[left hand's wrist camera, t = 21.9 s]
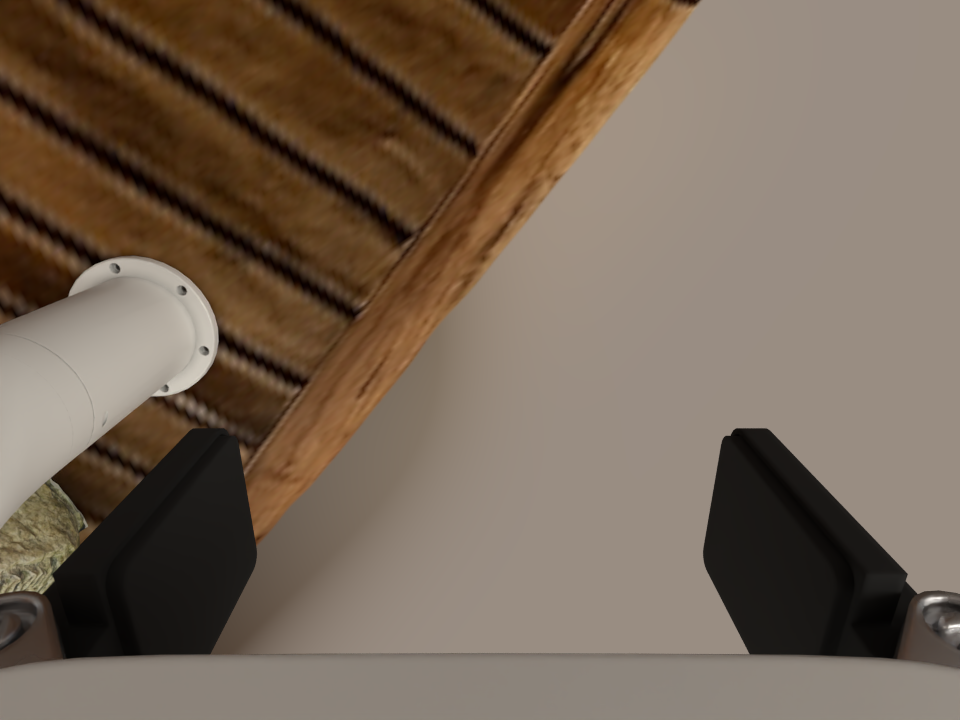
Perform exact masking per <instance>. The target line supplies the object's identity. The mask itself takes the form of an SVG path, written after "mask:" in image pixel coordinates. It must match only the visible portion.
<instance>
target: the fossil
mask: <svg viewBox="0 0 960 720" xmlns="http://www.w3.org/2000/svg"><path fill="white" fill-rule="evenodd" d="M86 527H88V525H87V523H86V521H85V519H84V517H83V515H82V513H81V512H80V511H79V510H78V509H77V508H76V507H75V505H74V504H73V503H72V501H71V500H70V498H69V497H68V496H67V495H66V494H65V493H64V492H63V490H62V489H61V488H60V487H59V485H58V484H57V483H55V482H54V481H52V479H51V478H50V479H49V480H48V481H47V482H45V483H44V484H43V485H42V486H41V487H40V488H39V489H38V490H36V491H35V492H34V493H33V494H32V495H31V496H30V497H29V498H28V499H27V500H26V501H25V502H24V503H23V504H22V505H21V506H20V507H19V508H18V509H17V510H16V511H15V512H14V513H13V515H12V516H11V517H10V518H9V519H8V520H7V522H6V523H5V524H4V525H3V526H2V528H1V529H0V594H2V593H8V592H15V591H35V592H38V593H40V594H43V593H44V592H45V591H46V590H47V589H48V588H49V587H50V585H51V584H52V583H53V582H54V578H53V575H52V574H53V573H54V572H55V571H56V570H57V569H58V568H59V567H60V566H61V564H62V563H63V562H64V561H65V560H66V559H67V558H68V557H69V556H70V555H71V554H72V553H73V552H74V551H75V550H76V549H77V548H78V547H79V532H80V531H82V530H83V529H85V528H86Z"/></svg>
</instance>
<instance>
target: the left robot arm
mask: <svg viewBox="0 0 960 720" xmlns="http://www.w3.org/2000/svg"><path fill="white" fill-rule="evenodd" d="M118 265H119V266H118ZM119 267H120V268H119ZM184 287H185V288H186V290H185V289H184ZM218 342H219V339H218V327H217V323H216V319H215V315H214V313H213V311H212V309H211V306H210V304H209V302H208V301H207V299H206V298H205V296H204V295H203V294H202V292H201V291H200V289H199V288H198V287H197V286H196V285H195V284H194V283H193V282H192V281H191V280H190V279H189V278H187V277H186V276H185V275H183V274H182V273H181V272H179V271H178V270H176V269H174V268H173V267H171V266H169V265H167V264H165V263H163V262H160V261H157V260H154V259H151V258H146V257H139V256H120V257H116V258H112V259H107V260H105V261H102V262H100V263H97V264H95V265H93V266H92V267H90V268H89V269H87V270H86V271H84V272H83V273H82V274H81V275H80V276H79V278H78V279H77V280H76V281H75V283H74V285H73V286H72V288H71V290H70V292H69V296H68V297H67V298H65V299H62V300H60V301H57V302H55V303H52V304H50V305H47V306H45V307H42V308H40V309H37V310H35V311H33V312H30V313H28V314H25V315H23V316H20V317H18V318H15V319H13V320H10V321H8V322H5V323H3V324H1V325H0V529H1V528H2V526H3V525H4V524H5V523H6V522H7V520H8V519H9V518H10V517H11V516H12V515H13V513H14V512H15V511H16V510H17V509H18V508H19V507H20V506H21V505H22V504H23V503H24V502H25V501H26V500H27V499H28V498H29V497H30V496H31V495H32V494H33V493H34V492H35V491H36V490H38V489H39V488H40V487H41V486H42V485H43V484H44V483H45V482H47V481H48V480H49V479H50V478H51V477H52V476H54V475H55V474H56V473H57V472H58V471H59V470H61V469H62V468H63V467H64V466H65V465H67V464H68V463H69V462H70V461H72V460H73V459H74V458H75V457H77V456H78V455H79V454H80V453H82V452H83V451H84V450H85V449H87V448H88V447H89V446H90V445H91V444H93V443H94V442H95V441H96V440H98V439H99V438H100V437H101V436H103V435H104V434H105V433H106V432H107V431H109V430H110V429H111V428H112V427H114V426H115V425H116V424H117V423H118V422H120V421H121V420H122V419H123V418H125V417H126V416H127V415H128V414H130V413H131V412H132V411H133V410H134V409H136V408H137V407H138V406H139V405H141V404H142V403H143V402H144V401H146V400H147V399H148V398H149V397H150V396H166V395H171V394H176V393H179V392H181V391H183V390H185V389H188V388H189V387H191V386H192V385H193V384H195V383H196V382H198V381H199V380H200V379H201V378H202V377H203V376H204V375H205V374H206V373H207V371H208V370H209V368H210V367H211V365H212V364H213V361H214V359H215V356H216V354H217V348H218ZM206 347H207V348H208V349H209V350H208V349H207V348H206ZM256 558H257V549H256V543H255V537H254V531H253V525H252V519H251V513H250V508H249V502H248V496H247V490H246V484H245V478H244V472H243V467H242V461H241V455H240V449H239V444H238V440H237V438H236V437H235V436H229V434H228V432H227V430H225V429H224V428H195V429H192V430H190V431H189V432H188V433H187V434H186V435H185V436H184V437H183V438H182V439H181V440H180V441H179V443H178V444H177V445H176V446H175V447H174V448H173V449H172V450H171V451H170V452H169V453H168V454H167V455H166V456H165V457H164V458H163V459H162V460H161V461H160V462H159V463H158V464H157V465H156V467H155V468H154V469H153V470H152V471H151V472H150V473H149V474H148V475H147V476H146V477H145V478H144V479H143V480H142V481H141V482H140V483H139V484H138V485H137V486H136V487H135V488H134V489H133V490H132V492H131V493H130V494H129V495H128V496H127V497H126V498H125V499H124V500H123V501H122V502H121V503H120V504H119V505H118V506H117V507H116V508H115V509H114V510H113V511H112V512H111V513H110V514H109V515H108V517H107V518H106V519H105V520H104V521H103V522H102V523H101V524H100V525H99V526H98V527H97V528H96V529H95V530H94V531H93V532H92V533H91V534H90V535H89V536H88V537H87V538H86V539H85V540H84V542H83V543H82V544H81V545H80V546H79V547H78V548H77V549H76V550H75V551H74V552H73V553H72V554H71V555H70V556H69V557H68V558H67V559H66V560H65V561H64V562H63V563H62V564H61V566H60V567H59V568H58V569H57V570H56V571H55V572H54V573H53V574H52V575H53V578H54V582H53V583H52V584H51V585H50V587H49V588H48V589H47V590H46V591H45V592H44V593H43V594H40V593H38V592H35V591H15V592H8V593H2V594H0V720H960V594H958V593H952V592H945V591H925V592H922V593H920V594H917V593H916V592H915V591H914V590H913V589H912V588H911V587H910V586H909V584H908V583H907V582H906V578H907V575H908V574H907V573H906V572H905V571H904V570H903V569H902V568H901V567H900V566H899V564H898V563H897V562H896V561H895V560H894V559H893V558H892V557H891V556H890V555H889V554H888V553H887V552H886V551H885V550H884V549H883V548H882V547H881V546H880V545H879V544H878V543H877V542H876V540H875V539H874V538H873V537H872V536H871V535H870V534H869V533H868V532H867V531H866V530H865V529H864V528H863V527H862V526H861V525H860V524H859V523H858V522H857V521H856V520H855V519H854V518H853V517H852V515H851V514H850V513H849V512H848V511H847V510H846V509H845V508H844V507H843V506H842V505H841V504H840V503H839V502H838V501H837V500H836V499H835V498H834V497H833V496H832V495H831V494H830V493H829V492H828V490H827V489H825V487H824V486H823V485H822V484H821V483H820V482H819V481H818V480H817V479H816V478H815V477H814V476H813V475H812V474H811V473H810V472H809V471H808V470H807V469H806V468H805V467H804V465H803V464H802V463H801V462H800V461H799V460H798V459H797V458H796V457H795V456H794V455H793V454H792V453H791V452H790V451H789V450H788V449H787V448H786V447H785V446H784V445H783V444H782V443H781V441H780V440H779V439H778V438H777V437H776V436H775V435H774V434H773V433H772V432H771V431H770V430H768V429H765V428H737V429H735V430H733V432H732V434H731V436H725V437H724V438H723V440H722V444H721V449H720V455H719V461H718V467H717V473H716V478H715V484H714V490H713V496H712V502H711V508H710V513H709V519H708V525H707V531H706V537H705V543H704V549H703V558H704V564H705V567H706V570H707V572H708V574H709V576H710V578H711V580H712V582H713V584H714V585H715V587H716V589H717V591H718V593H719V595H720V597H721V599H722V601H723V603H724V605H725V607H726V609H727V611H728V613H729V615H730V617H731V619H732V621H733V622H734V624H735V626H736V628H737V630H738V632H739V634H740V636H741V638H742V640H743V642H744V644H745V646H746V648H747V650H748V652H749V654H560V653H556V654H555V653H430V654H429V653H425V654H424V653H422V654H216V655H215V654H212V655H210V654H211V652H212V650H213V648H214V646H215V644H216V642H217V640H218V638H219V636H220V634H221V632H222V630H223V628H224V626H225V624H226V623H227V621H228V619H229V617H230V615H231V613H232V611H233V609H234V607H235V605H236V603H237V601H238V599H239V597H240V595H241V593H242V591H243V589H244V587H245V585H246V584H247V581H248V580H249V578H250V576H251V574H252V572H253V570H254V567H255V564H256Z"/></svg>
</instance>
